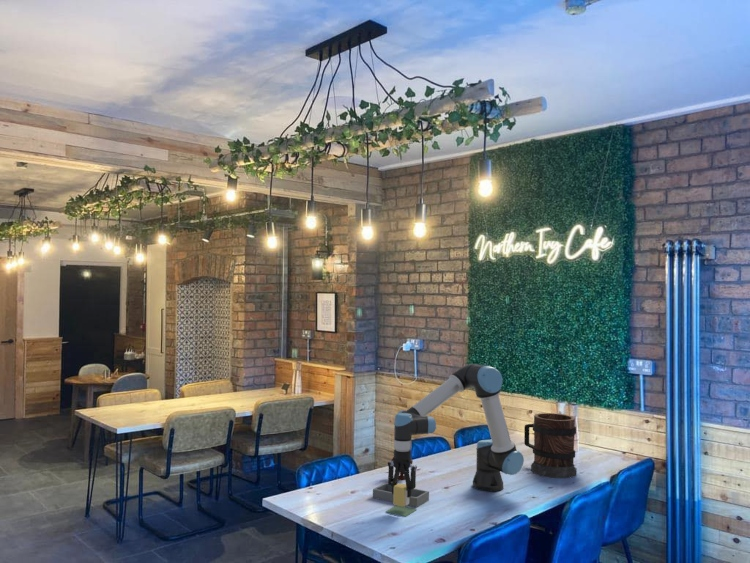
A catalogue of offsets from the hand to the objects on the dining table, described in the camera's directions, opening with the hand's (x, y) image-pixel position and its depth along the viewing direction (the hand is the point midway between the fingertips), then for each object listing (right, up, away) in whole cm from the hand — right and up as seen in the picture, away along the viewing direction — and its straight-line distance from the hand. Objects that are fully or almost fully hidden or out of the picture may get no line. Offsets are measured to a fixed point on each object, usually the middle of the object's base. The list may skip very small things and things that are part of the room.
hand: (401, 503), depth 269 cm
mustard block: (0, 0, 0) cm, 0 cm away
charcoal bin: (0, -4, +16) cm, 17 cm away
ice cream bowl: (+2, -5, +50) cm, 50 cm away
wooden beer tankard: (+84, -8, +71) cm, 111 cm away
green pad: (0, -4, 0) cm, 4 cm away
